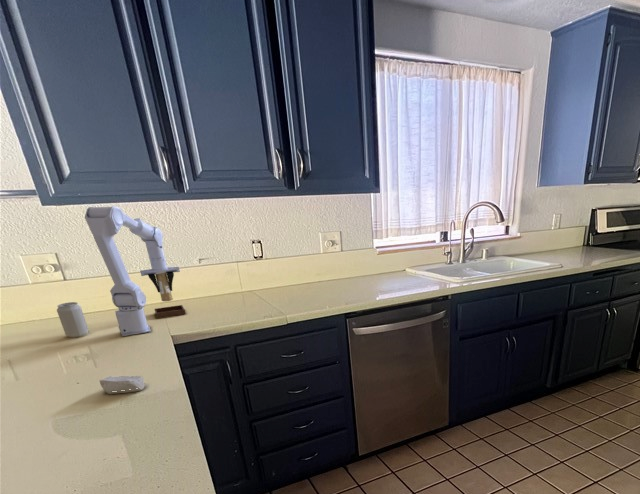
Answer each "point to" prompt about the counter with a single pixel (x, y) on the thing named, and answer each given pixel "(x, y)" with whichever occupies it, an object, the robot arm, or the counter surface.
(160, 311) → the tray
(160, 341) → the counter surface
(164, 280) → the sprinkles bottle
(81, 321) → the can
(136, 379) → the grey rock
